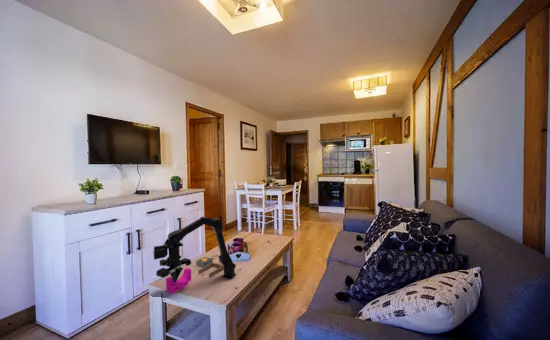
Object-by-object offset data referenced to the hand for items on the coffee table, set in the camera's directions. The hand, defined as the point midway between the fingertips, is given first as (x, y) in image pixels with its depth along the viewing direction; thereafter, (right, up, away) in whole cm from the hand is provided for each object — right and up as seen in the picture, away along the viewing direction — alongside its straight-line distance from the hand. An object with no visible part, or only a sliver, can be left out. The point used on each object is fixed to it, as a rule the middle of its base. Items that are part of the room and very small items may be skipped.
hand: (175, 281), depth 127 cm
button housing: (+5, -5, +36) cm, 37 cm away
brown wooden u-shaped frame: (+14, -5, +25) cm, 29 cm away
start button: (+5, -5, +36) cm, 37 cm away
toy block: (0, -6, +7) cm, 10 cm away
